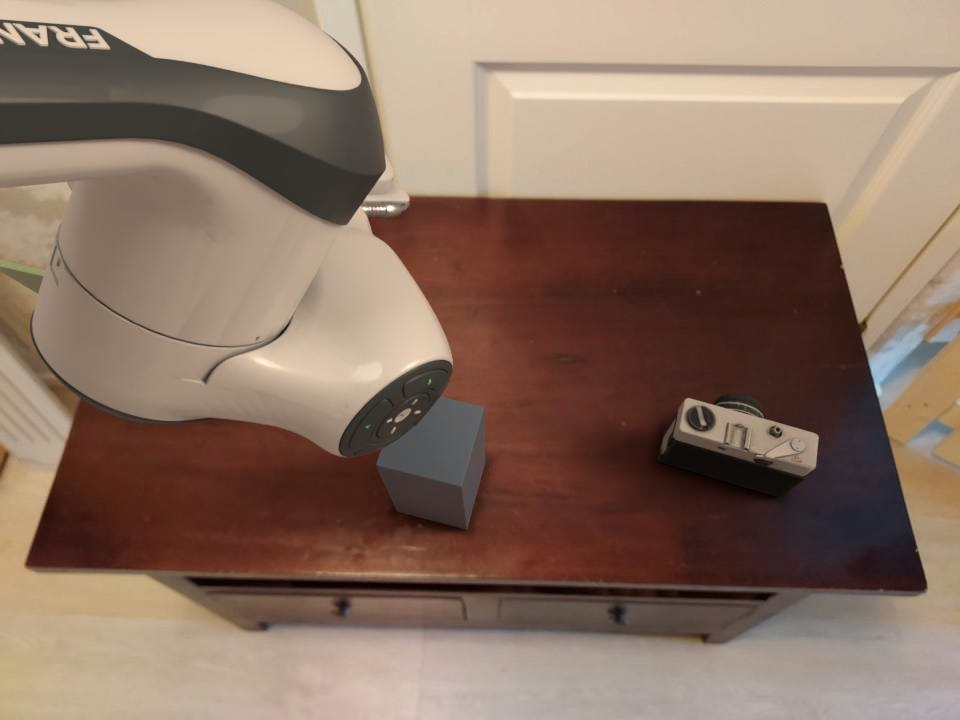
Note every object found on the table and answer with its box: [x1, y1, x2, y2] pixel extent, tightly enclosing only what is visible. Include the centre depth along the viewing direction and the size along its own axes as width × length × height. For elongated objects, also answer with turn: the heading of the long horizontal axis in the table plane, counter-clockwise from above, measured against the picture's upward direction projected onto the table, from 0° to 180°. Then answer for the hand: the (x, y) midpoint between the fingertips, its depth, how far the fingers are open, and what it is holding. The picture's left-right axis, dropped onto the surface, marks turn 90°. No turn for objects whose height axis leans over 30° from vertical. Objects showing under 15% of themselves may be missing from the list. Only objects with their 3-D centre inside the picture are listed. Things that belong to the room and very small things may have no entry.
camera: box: [657, 393, 820, 499], centre depth 70 cm, size 14×9×10 cm, turn 64°
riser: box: [375, 395, 487, 531], centre depth 66 cm, size 8×8×15 cm
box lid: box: [0, 258, 46, 295], centre depth 65 cm, size 14×12×1 cm
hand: (203, 95), depth 46 cm, fingers open, 8 cm apart
